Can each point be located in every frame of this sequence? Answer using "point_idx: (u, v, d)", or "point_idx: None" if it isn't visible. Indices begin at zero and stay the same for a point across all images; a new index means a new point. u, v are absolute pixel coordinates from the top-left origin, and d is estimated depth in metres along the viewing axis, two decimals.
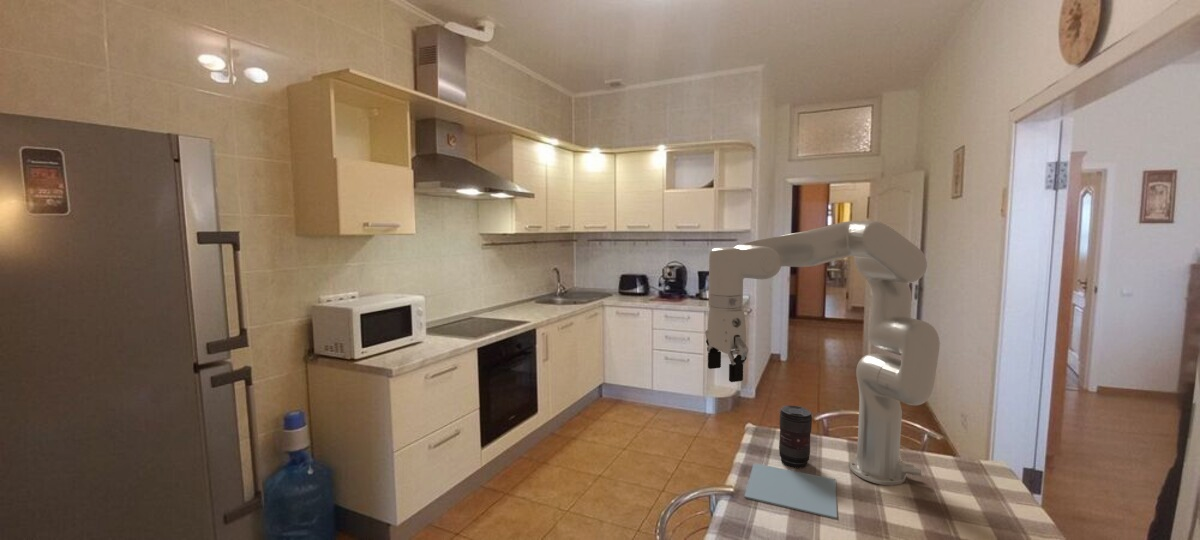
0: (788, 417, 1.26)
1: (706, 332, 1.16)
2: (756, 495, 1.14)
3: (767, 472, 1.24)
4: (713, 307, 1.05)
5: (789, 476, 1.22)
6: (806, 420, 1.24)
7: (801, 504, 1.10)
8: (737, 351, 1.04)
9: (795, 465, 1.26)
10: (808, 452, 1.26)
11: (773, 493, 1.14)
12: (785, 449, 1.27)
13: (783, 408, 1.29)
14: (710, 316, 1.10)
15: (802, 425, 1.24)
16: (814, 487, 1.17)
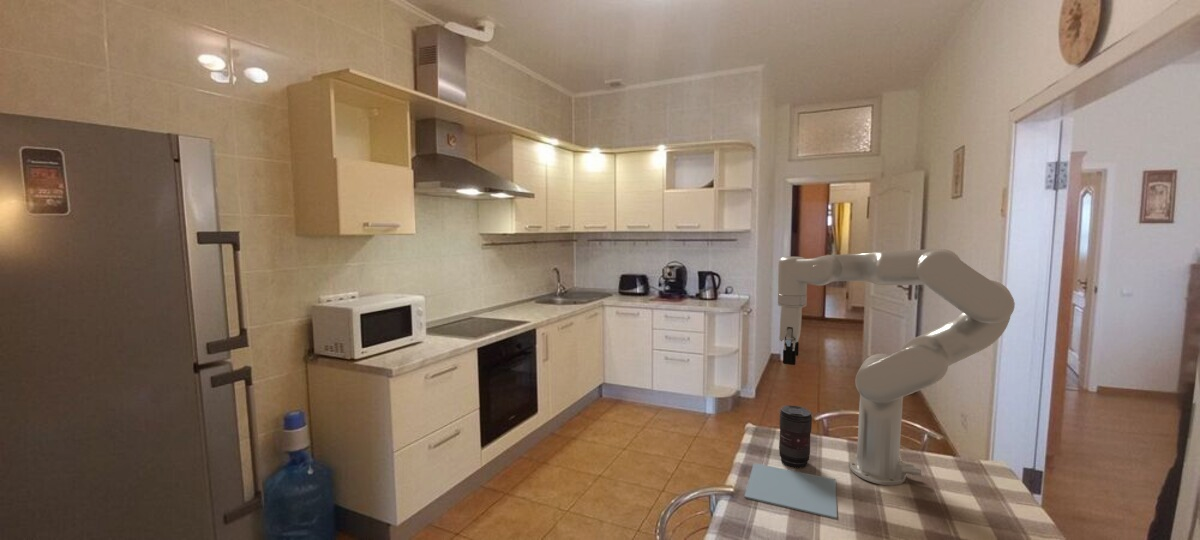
0: (788, 417, 1.26)
1: (790, 338, 1.26)
2: (756, 495, 1.14)
3: (767, 472, 1.24)
4: None
5: (789, 476, 1.22)
6: (806, 420, 1.24)
7: (801, 504, 1.10)
8: None
9: (795, 465, 1.26)
10: (808, 452, 1.26)
11: (773, 493, 1.14)
12: (785, 449, 1.27)
13: (783, 408, 1.29)
14: (799, 316, 1.29)
15: (802, 425, 1.24)
16: (814, 487, 1.17)
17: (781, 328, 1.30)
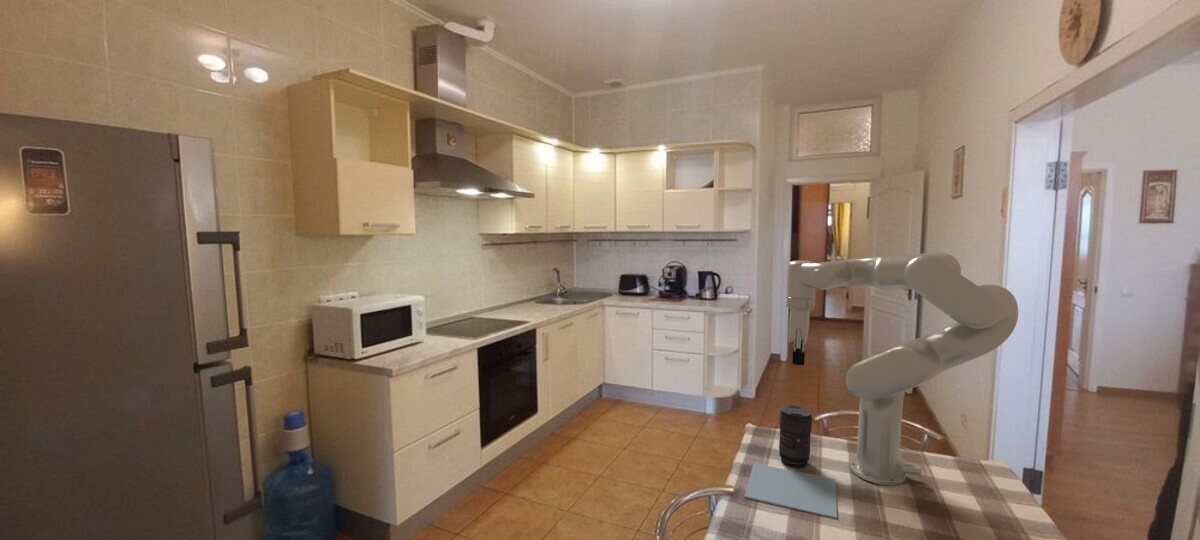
0: (788, 417, 1.26)
1: (800, 346, 1.33)
2: (756, 495, 1.14)
3: (767, 472, 1.24)
4: None
5: (789, 476, 1.22)
6: (806, 420, 1.24)
7: (801, 504, 1.10)
8: None
9: (795, 465, 1.26)
10: (808, 452, 1.26)
11: (773, 493, 1.14)
12: (785, 449, 1.27)
13: (783, 408, 1.29)
14: (808, 318, 1.34)
15: (802, 425, 1.24)
16: (814, 487, 1.17)
17: (790, 330, 1.34)
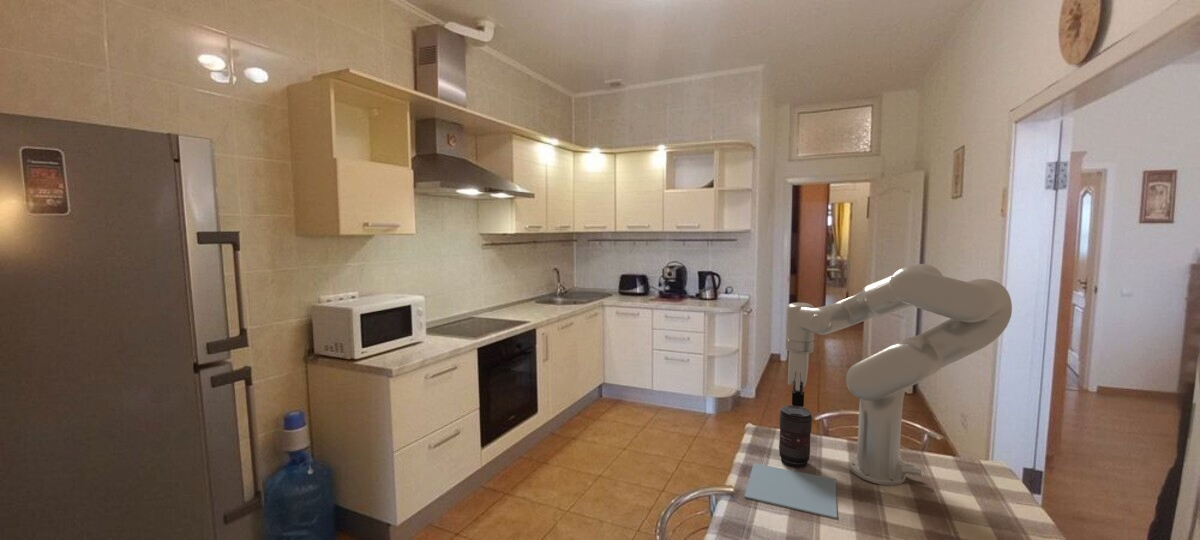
0: (788, 417, 1.26)
1: (799, 388, 1.34)
2: (756, 495, 1.14)
3: (767, 472, 1.24)
4: None
5: (789, 476, 1.22)
6: (806, 420, 1.24)
7: (801, 504, 1.10)
8: None
9: (795, 465, 1.26)
10: (808, 452, 1.26)
11: (773, 493, 1.14)
12: (785, 449, 1.27)
13: (783, 408, 1.29)
14: (807, 361, 1.35)
15: (802, 425, 1.24)
16: (814, 487, 1.17)
17: (789, 372, 1.35)
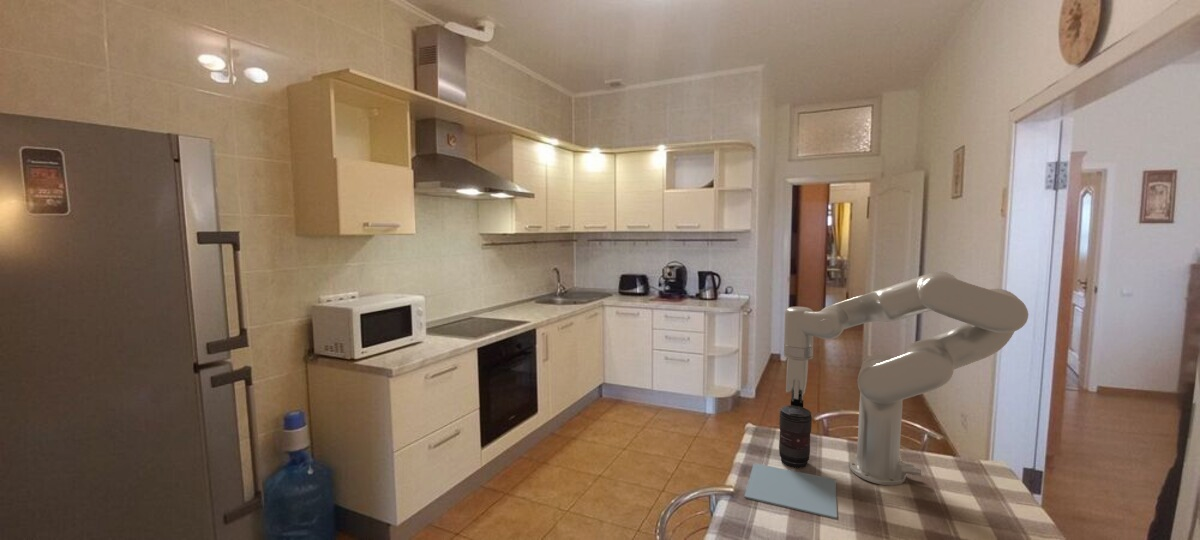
0: (787, 417, 1.25)
1: (798, 397, 1.28)
2: (756, 495, 1.14)
3: (767, 472, 1.24)
4: None
5: (789, 476, 1.22)
6: (806, 420, 1.24)
7: (801, 504, 1.10)
8: None
9: (795, 465, 1.26)
10: (808, 452, 1.26)
11: (773, 493, 1.14)
12: (785, 449, 1.27)
13: (783, 408, 1.29)
14: (806, 368, 1.28)
15: (802, 425, 1.24)
16: (814, 487, 1.17)
17: (788, 380, 1.29)
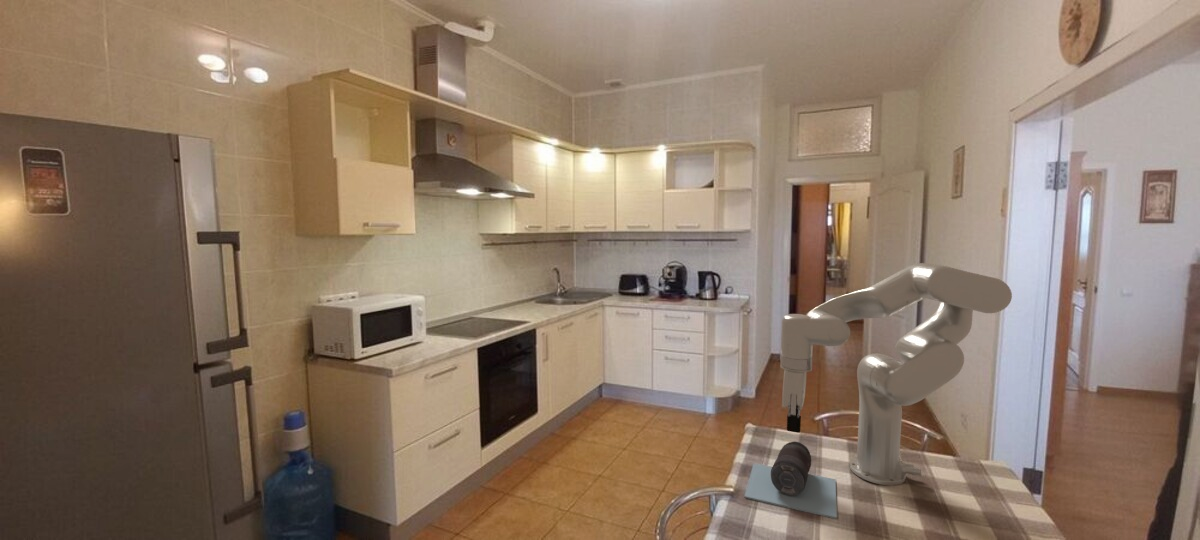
0: None
1: (795, 412, 1.18)
2: (756, 495, 1.14)
3: (767, 472, 1.24)
4: None
5: None
6: None
7: (801, 504, 1.10)
8: None
9: None
10: None
11: (773, 493, 1.14)
12: None
13: (773, 474, 1.14)
14: (804, 381, 1.18)
15: None
16: (814, 487, 1.17)
17: (784, 394, 1.18)
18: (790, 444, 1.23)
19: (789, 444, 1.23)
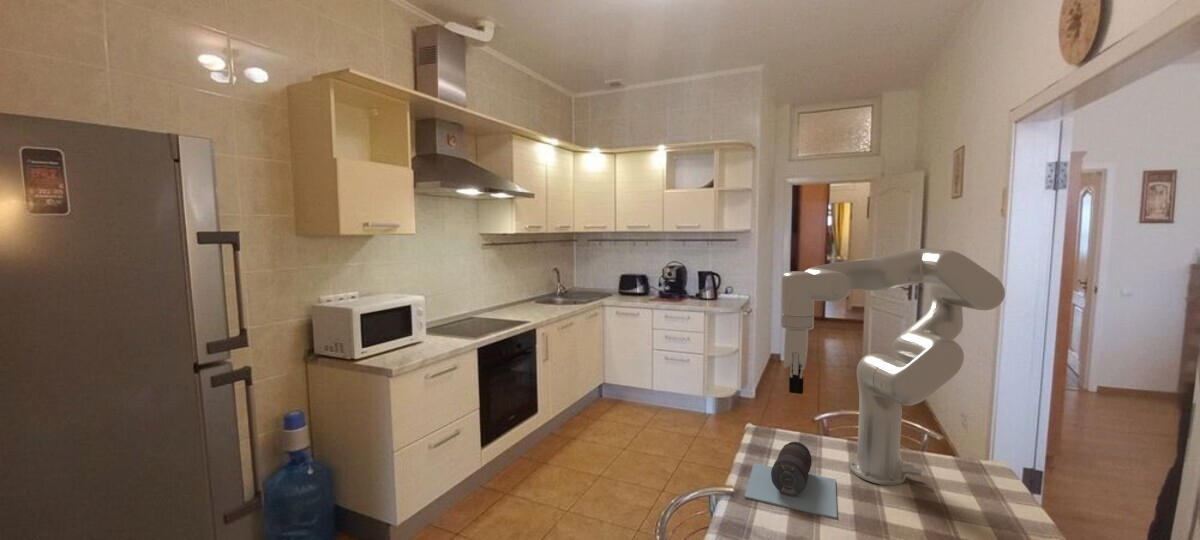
0: None
1: (798, 372, 1.14)
2: (756, 495, 1.14)
3: (767, 472, 1.24)
4: None
5: None
6: None
7: (801, 504, 1.10)
8: None
9: None
10: None
11: (773, 493, 1.14)
12: None
13: (773, 474, 1.14)
14: (806, 340, 1.14)
15: None
16: (814, 487, 1.17)
17: (786, 353, 1.14)
18: (790, 444, 1.23)
19: (790, 444, 1.23)
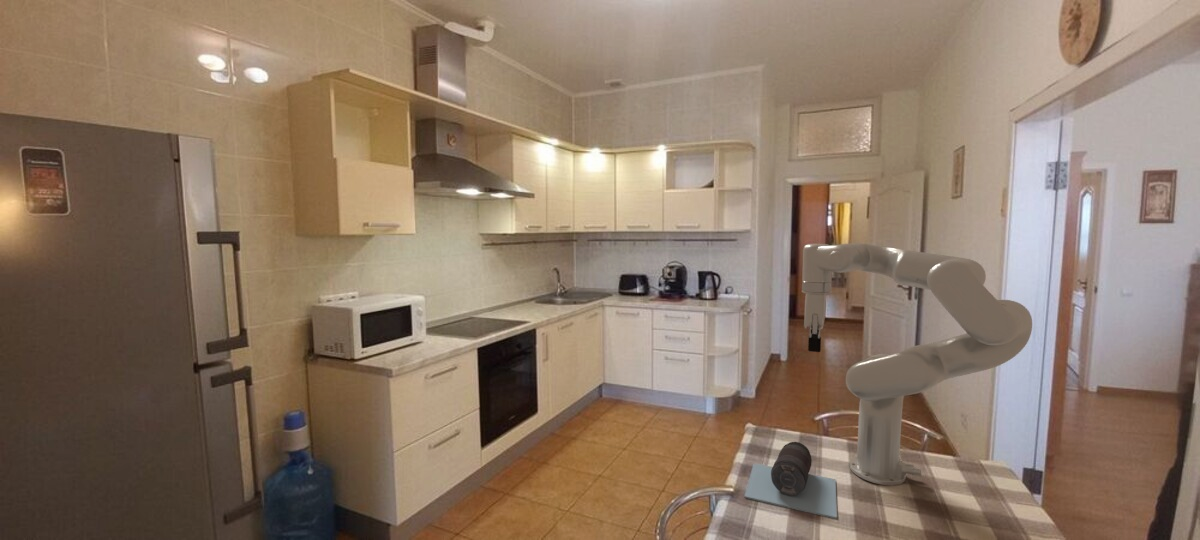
0: None
1: (817, 331, 1.29)
2: (756, 495, 1.14)
3: (767, 472, 1.24)
4: None
5: None
6: None
7: (801, 504, 1.10)
8: None
9: None
10: None
11: (773, 493, 1.14)
12: None
13: (773, 474, 1.14)
14: (825, 303, 1.29)
15: None
16: (814, 487, 1.17)
17: (806, 315, 1.30)
18: (790, 444, 1.23)
19: (790, 444, 1.23)
